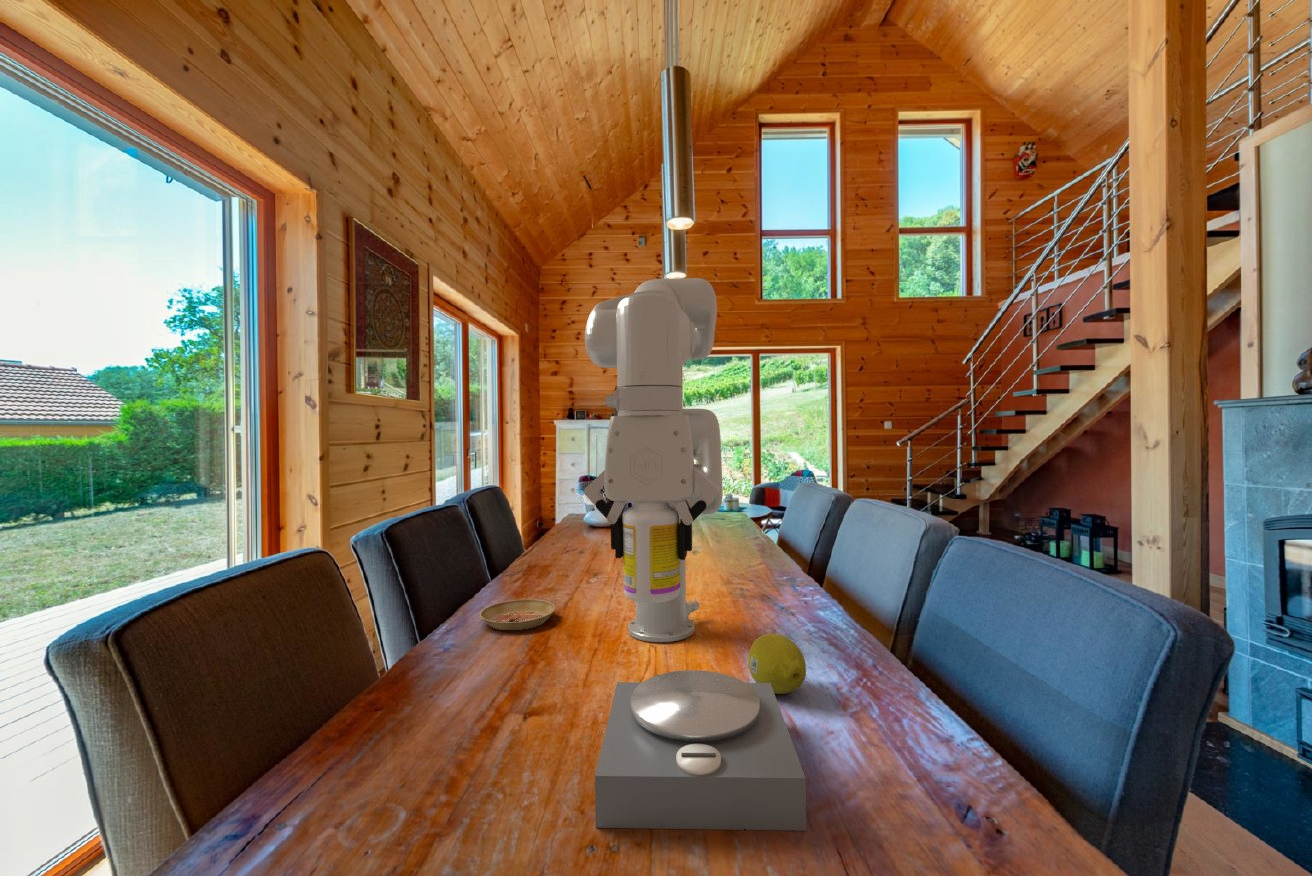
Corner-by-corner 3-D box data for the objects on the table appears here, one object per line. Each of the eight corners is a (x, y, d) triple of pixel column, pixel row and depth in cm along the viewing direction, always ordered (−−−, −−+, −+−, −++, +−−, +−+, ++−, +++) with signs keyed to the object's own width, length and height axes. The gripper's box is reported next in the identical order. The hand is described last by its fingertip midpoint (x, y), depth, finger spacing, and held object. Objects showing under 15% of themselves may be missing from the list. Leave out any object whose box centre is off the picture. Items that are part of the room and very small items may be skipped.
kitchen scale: (617, 720, 74) (617, 676, 74) (770, 721, 73) (770, 676, 73) (595, 827, 54) (594, 767, 54) (806, 830, 53) (805, 769, 53)
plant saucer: (464, 632, 108) (463, 618, 108) (506, 608, 122) (505, 596, 122) (532, 639, 104) (532, 625, 104) (567, 614, 118) (567, 601, 118)
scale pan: (635, 677, 73) (635, 670, 73) (750, 678, 73) (750, 670, 73) (625, 740, 58) (625, 731, 58) (769, 742, 58) (769, 732, 58)
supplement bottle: (687, 590, 67) (686, 484, 67) (669, 607, 61) (668, 490, 61) (636, 585, 70) (635, 482, 70) (613, 601, 64) (612, 488, 63)
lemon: (741, 677, 86) (740, 625, 86) (791, 674, 87) (790, 622, 87) (761, 711, 75) (760, 652, 75) (817, 708, 76) (816, 650, 76)
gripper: (568, 404, 63) (570, 562, 63) (723, 401, 60) (725, 566, 60) (586, 406, 70) (588, 548, 71) (725, 403, 68) (727, 551, 68)
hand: (651, 555), depth 66 cm, fingers closed on supplement bottle, 6 cm apart
